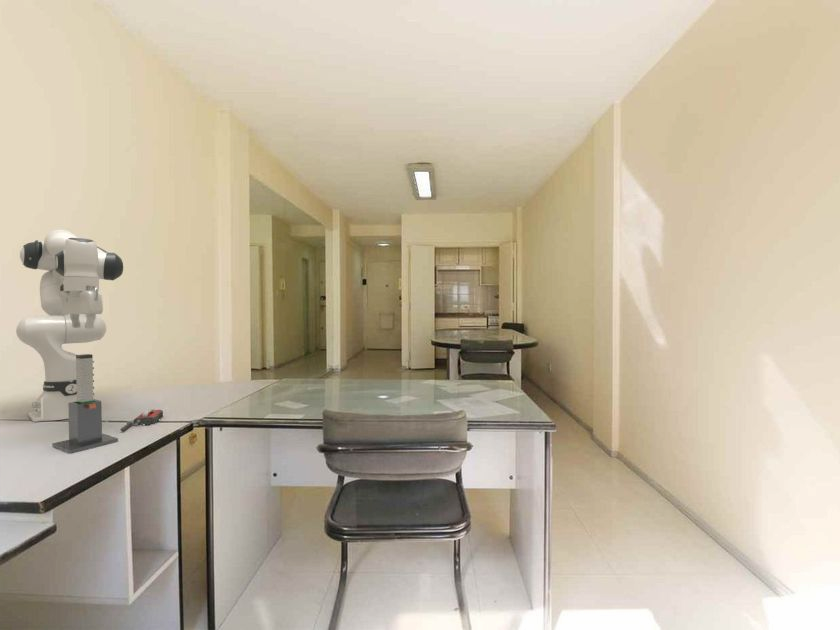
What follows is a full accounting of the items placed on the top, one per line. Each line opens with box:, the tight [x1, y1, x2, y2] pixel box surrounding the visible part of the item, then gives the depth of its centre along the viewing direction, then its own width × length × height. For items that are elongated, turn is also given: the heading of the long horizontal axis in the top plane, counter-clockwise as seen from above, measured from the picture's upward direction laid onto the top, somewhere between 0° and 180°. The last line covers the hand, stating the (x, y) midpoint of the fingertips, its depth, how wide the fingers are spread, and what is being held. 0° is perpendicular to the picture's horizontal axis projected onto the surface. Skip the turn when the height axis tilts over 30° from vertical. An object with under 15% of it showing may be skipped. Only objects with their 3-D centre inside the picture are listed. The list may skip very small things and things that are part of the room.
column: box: [76, 353, 95, 404], centre depth 122 cm, size 3×4×20 cm
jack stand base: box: [51, 398, 119, 454], centre depth 122 cm, size 12×12×13 cm
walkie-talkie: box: [120, 408, 164, 432], centre depth 144 cm, size 9×4×20 cm
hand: (82, 328), depth 133 cm, fingers open, 8 cm apart
